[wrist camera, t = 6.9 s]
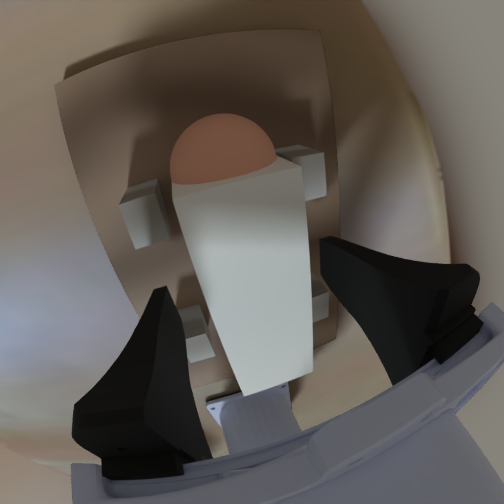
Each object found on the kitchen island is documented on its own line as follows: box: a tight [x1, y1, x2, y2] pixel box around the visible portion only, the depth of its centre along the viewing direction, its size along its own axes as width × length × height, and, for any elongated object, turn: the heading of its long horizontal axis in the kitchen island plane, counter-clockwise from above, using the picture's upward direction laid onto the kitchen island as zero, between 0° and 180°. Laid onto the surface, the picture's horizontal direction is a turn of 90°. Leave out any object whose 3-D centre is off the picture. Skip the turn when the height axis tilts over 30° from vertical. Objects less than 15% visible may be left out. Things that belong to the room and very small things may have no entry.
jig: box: [54, 29, 340, 388], centre depth 14 cm, size 22×13×4 cm, turn 10°
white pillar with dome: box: [170, 113, 313, 396], centre depth 12 cm, size 13×4×5 cm, turn 10°
